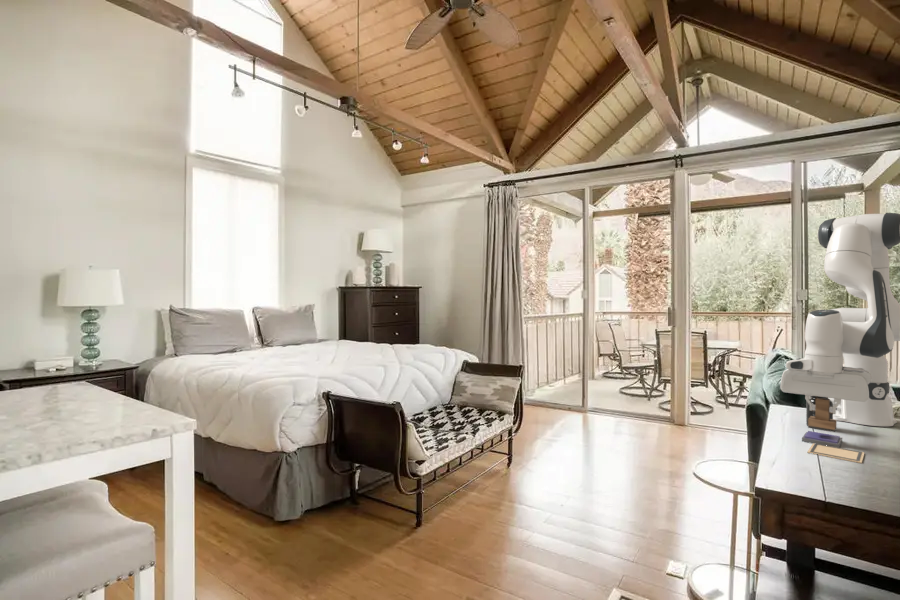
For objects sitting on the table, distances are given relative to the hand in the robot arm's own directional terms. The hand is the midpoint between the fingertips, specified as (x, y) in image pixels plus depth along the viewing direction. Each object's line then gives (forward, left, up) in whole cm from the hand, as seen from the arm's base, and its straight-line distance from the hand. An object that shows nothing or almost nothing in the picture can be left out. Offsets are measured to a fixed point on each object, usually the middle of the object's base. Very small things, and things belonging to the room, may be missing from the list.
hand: (822, 412), depth 136 cm
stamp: (0, 0, -5) cm, 5 cm away
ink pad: (0, 0, -9) cm, 9 cm away
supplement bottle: (-17, +9, -9) cm, 21 cm away
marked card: (+11, -3, -9) cm, 14 cm away
